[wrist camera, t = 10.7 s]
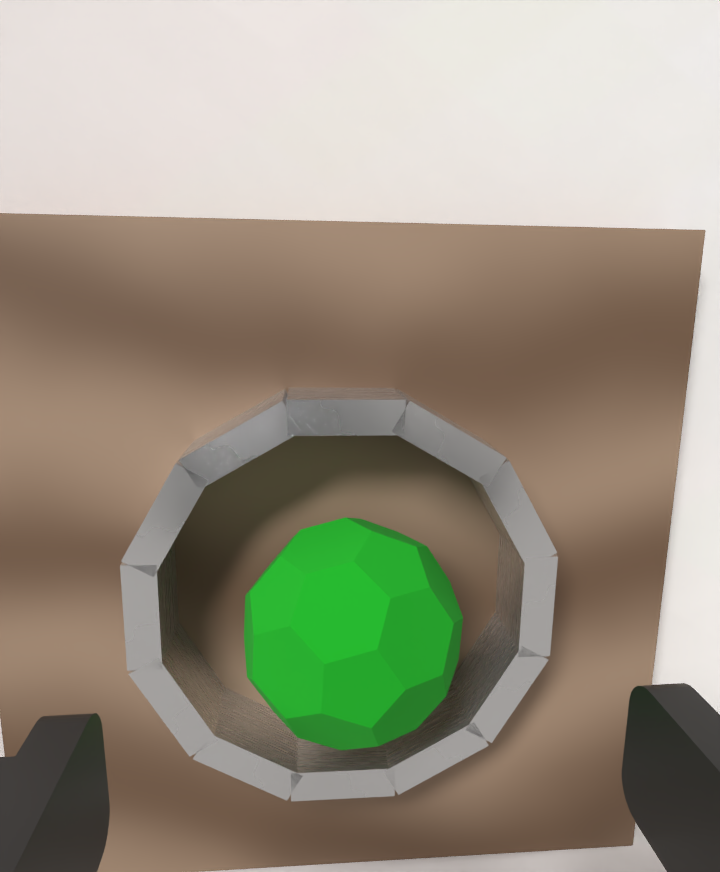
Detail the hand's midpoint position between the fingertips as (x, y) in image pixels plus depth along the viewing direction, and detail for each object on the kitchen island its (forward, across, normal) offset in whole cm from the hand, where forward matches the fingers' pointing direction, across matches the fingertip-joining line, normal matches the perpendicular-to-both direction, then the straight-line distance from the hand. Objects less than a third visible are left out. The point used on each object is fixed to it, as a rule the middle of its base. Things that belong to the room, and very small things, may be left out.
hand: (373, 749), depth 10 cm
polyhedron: (+8, 0, +1) cm, 8 cm away
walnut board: (+9, 0, +1) cm, 9 cm away
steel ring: (+7, 0, +1) cm, 7 cm away
